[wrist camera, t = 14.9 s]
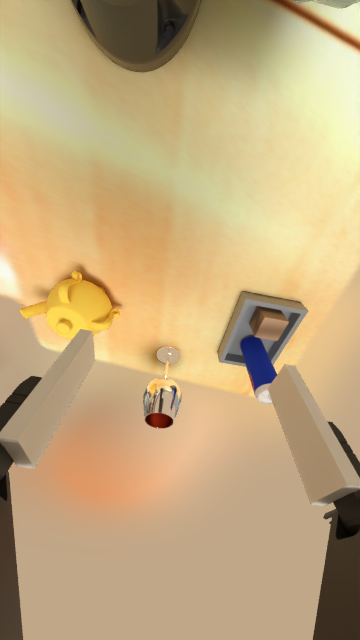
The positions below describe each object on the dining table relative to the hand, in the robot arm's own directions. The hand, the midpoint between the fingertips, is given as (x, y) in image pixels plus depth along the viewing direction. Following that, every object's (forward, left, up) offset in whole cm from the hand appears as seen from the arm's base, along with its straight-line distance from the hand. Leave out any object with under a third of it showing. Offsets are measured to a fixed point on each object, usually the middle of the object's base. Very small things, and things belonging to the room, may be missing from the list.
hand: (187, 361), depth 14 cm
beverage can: (+18, +19, -28) cm, 39 cm away
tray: (+15, +19, -29) cm, 38 cm away
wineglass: (+28, 0, -29) cm, 40 cm away
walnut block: (+10, +19, -28) cm, 35 cm away
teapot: (+16, -21, -29) cm, 39 cm away
